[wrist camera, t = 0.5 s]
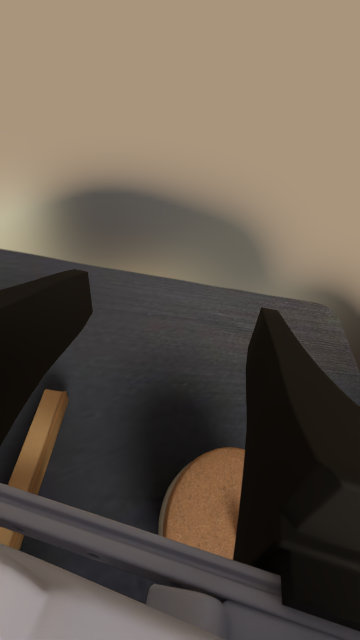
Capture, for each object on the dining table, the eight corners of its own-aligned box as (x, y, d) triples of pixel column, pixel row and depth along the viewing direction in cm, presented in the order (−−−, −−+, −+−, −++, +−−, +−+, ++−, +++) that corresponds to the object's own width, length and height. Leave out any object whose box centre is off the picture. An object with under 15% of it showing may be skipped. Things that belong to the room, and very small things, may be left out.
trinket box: (236, 448, 29) (285, 431, 22) (274, 577, 24) (357, 615, 16) (138, 471, 26) (156, 461, 18) (158, 629, 20) (195, 708, 13)
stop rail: (-7, 630, 18) (-21, 648, 16) (-39, 629, 18) (-58, 647, 16) (69, 399, 27) (66, 391, 25) (48, 396, 27) (44, 387, 25)
